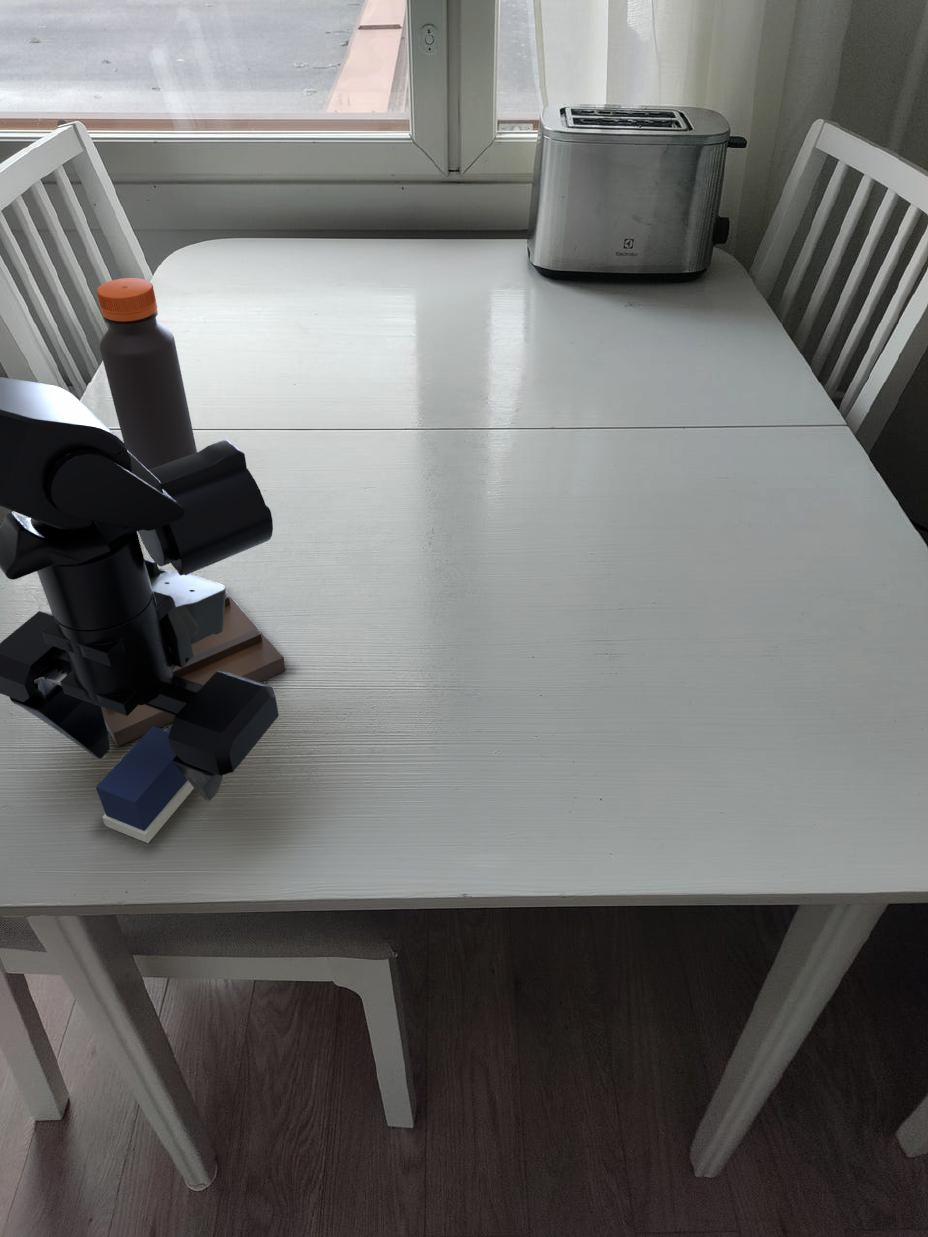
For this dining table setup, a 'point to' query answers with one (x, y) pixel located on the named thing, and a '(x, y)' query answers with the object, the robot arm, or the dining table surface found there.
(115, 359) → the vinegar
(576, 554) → the dining table surface
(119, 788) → the stepped navy block
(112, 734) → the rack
